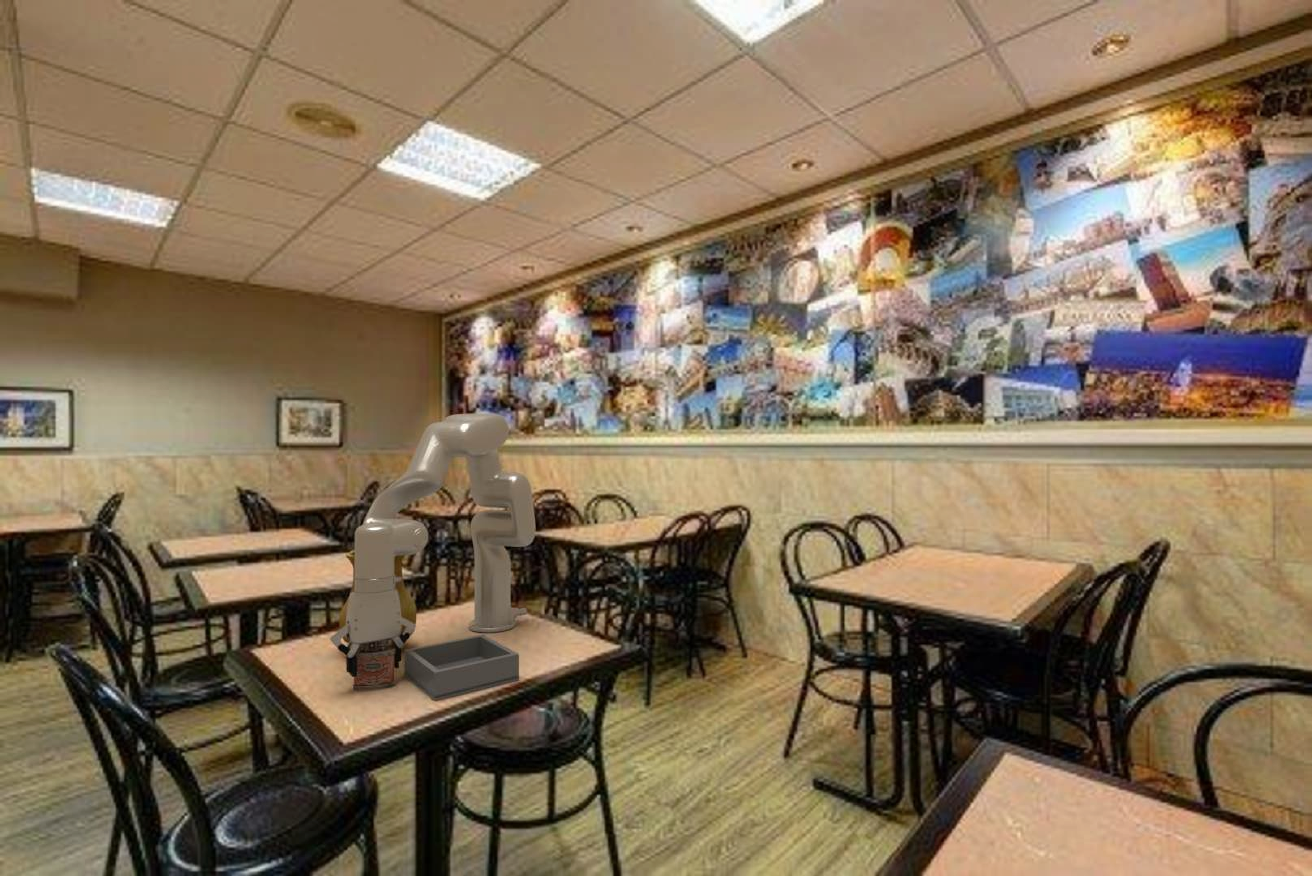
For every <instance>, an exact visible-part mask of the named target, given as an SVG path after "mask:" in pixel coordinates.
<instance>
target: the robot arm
mask: <svg viewBox="0 0 1312 876" xmlns="http://www.w3.org/2000/svg"><path fill="white" fill-rule="evenodd" d="M509 434H510V428H509V423H508V422H507V419H505V418H504V416H503V415H501V414H497V413H457V414H456V413H455V414H452V415H448V416H446V417H444V420H443V421H437V422H433V423H431V424H430V425H428V426H427V427H426V429H425V430H424V432H423V434H422V437H421V438H420V441H419V443H418V445H417V448H416V449H415V452H414V454H413V456H412V458H411V461H410V462H409V465H408V467H407V470H406V471H405V473H404V474H403V475H402V476H401V477H399V478H397V479H396V480H395V481H394V482H393V483H391V484H389V486H388V487H387V488H385V489H383V491H382V492H381V493H380V494H379V495H378V496H376V498H375V500H374V501H373V502H372V504H371V505H370V506H369V510H368V511H367V513H366V516H365V517H364V520H363V523H362V525H360V526H358V527H357V528H356V530H354V531H355V532H354V550H355V592H352V593H351V592H350V593H349V596H348V598H349V601H348V607H347V616H346V625H345V626H344V627H343V628H341V629H340V628H339V630H338V631H336V632H335V633H334V634H333V635H332V636H331V637H330V638H329V641H330V642H331V643H332V644H333V645H334V646H335V647H336V648H337V649H338V650H339V652H341V653H342V654H344V655H345V658H346V660H345V662H346V664H345V666H346V667H345V668H346V673H349V675H350V677H352V678H354V677H356V676H357V657H356V656H355V652H356V651H357V649H358V647H359V645H360V644H364V643H370V642H375V641H381V640H386V639H391V638H392V642H393V645H392V647H391V648H395V654H394V669H399V668H400V663H401V662H402V653H401V648H402V647H403V646H404V644H406V642H407V641H408V640H409V639H410V638H411V636H412V635H413V633H414V632H415V630H416V627H417V626H416V625H415V624H414V623H412V622H410V621H408V620H407V619H405V618H403V617H401V608H400V601H399V595H398V591H397V589H396V588H394V587H395V585H396V583H399V582H401V576H395V575H394V557H395V556H399V555H406V556H411V555H416V554H418V553H420V552H421V551H422V550H423V549H424V548H425V547H426V546H427V543H428V541H429V532H428V529H427V527H426V525H424V524H423V523H422V522H419V521H418V520H414V519H413V520H412V519H399V518H395V517H396V516H397V514H398V513H399V512H401V510H402V509H403V508H405V507H406V506H409V505H410V504H412V503H414V502H416V501H418V500H421V499H423V498H426V497H428V496H431V495H433V494H435V493H436V492H438V491H439V490H440V489H442V487H443V486H444V482H445V479H446V478H447V474H448V472H449V470H450V468H451V465H452V462H453V460H454V459H455V458H465V461H466V465H467V471H468V472H467V473H468V477H469V485H470V486H469V487H470V491H471V492H470V493H471V498H472V500H473V502H474V503H475V505H476V506H478V507H483V508H491V509H486V510H482V511H480V512H478V513H476V514H474V516H473V518H472V519H471V523H470V534H471V539H472V544H473V555H474V619H472V620H470V622H468V629H469V630H470V631H473V632H476V633H477V632H478V633H497V632H498V633H500V632H504V631H507V630H511V629H513V628H515V627H516V626H517V620H516V618H517V617H519V616H526V615H528V614H527V613H528V609H527V608H526V607H521V608H518V607H512V606H511V574H512V573H511V571H512V570H511V567H512V566H511V559H510V555H509V553H508V551H507V549H506V548H505V547H517V548H518V547H520V548H523V547H527V546H529V545H531V544H532V543H533V541H534V539H535V536H536V518H535V507H534V502H533V499H534V498H533V492H532V487H531V483H530V481H529V480H528V478H527V477H526V475H525V474H523V473H520V472H515V471H514V472H513V471H511V472H509V471H507V472H505V471H503V469H502V464H501V460H500V453H499V451H498V448H500V447H502V446H503V445H504V444H505V443H506V442H507V440H508V438H509ZM492 508H493V509H492ZM495 508H497V509H495ZM498 509H499V510H498ZM502 509H503V510H502ZM504 509H505V510H504ZM507 509H508V510H507ZM402 625H404V626H406V629H405V631H404V632H403V633H402V634H401V630H402ZM414 629H415V630H414ZM413 631H414V632H413ZM412 632H413V633H412ZM400 634H401V635H400ZM411 634H412V635H411ZM345 635H346V638H347V639H349V640H350V642H349V643H347V645H345V644H344V643H343V642H342V640H343V637H344V636H345ZM399 635H400V636H399ZM410 635H411V636H410Z"/></svg>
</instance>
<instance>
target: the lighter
mask: <svg viewBox="0 0 1312 876" xmlns="http://www.w3.org/2000/svg"><path fill="white" fill-rule="evenodd" d="M390 644H392V638H391V639H386V640H381V641H375V642H370V643H364V644H360V650H357V651H356V652H355V656H356V657H357V676H356V677H353V684H352V691H354V692H361V691H363V692H364V691H367V692H368V691H376V690H385V689H391V688H394V687H395V686H396V679H395V667H394V654H395V648H385V645H390ZM379 645H382V646H381V648H379ZM365 646H367V648H366V649H365Z"/></svg>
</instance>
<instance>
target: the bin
mask: <svg viewBox="0 0 1312 876" xmlns="http://www.w3.org/2000/svg"><path fill="white" fill-rule="evenodd" d="M403 653H404V655H403V656H404V658H403V660H404V661H403V662H404V667H403V668H404V673H403V675H404V677H406V678H407V679H408V680H409V681H410V682H411V683H413V684H414V685H415V686H416V687H418V688H419V690H421V691H422V692H423V693H424V694H426V695H427V696H428V697H429V698H430V699H431V700H432V701H434V702H436V701H440V700H441V701H442V700H445V699H448V698H449V699H450V698H452V697H457V696H461V695H464V694H468V693H473V692H477V691H481V690H484V689H485V690H486V689H490V688H493V687H496V686H501V685H505V684H508V683H513V682H517V681H519V680H520V654H519V653H518V652H516V651H514V650H512V649H511V648H509V647H507V646H505V645H504V644H502V643H500V642H498V641H495V640H494V639H493V638H490V637H488V636H486V635H485V634H478V635H473V636H469V637H468V636H467V637H464V638H459V639H458V638H457V639H453V640H448V641H442V642H438V643H432V644H427V645H423V646H418V647H412V648H408V649H406V650H404V652H403Z"/></svg>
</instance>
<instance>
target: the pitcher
mask: <svg viewBox="0 0 1312 876" xmlns="http://www.w3.org/2000/svg"><path fill="white" fill-rule="evenodd" d="M406 556H407V555H399V556H395V557H394V575H395V576H401V582H399V583H396V585H395V587H394V588H396V589H397V591H398V595H399V601H400V608H401V617H403V618H405V619H407V620H408V621H410V622H412V623H414V624H415V625H416V624H417V606H416V603H415V600H414V599H413V597H412V596H411V595H410V592H408V589H407V588H406V586H405V584H404V577H403V567H402V564H403V562H404V561H403V560H404V558H405V557H406ZM345 557H346V558H347V559H348V561H349V562H350V564H351V565H352V568H353V571H352V575H353V576H352V586H351V590H350V593H352V592H355V549H353V550H351V551H350V552H346V554H345ZM348 601H349V597H347V600H346V601H345V603H344V605H343V606H342V609H341V611H340V614H339V620H338V621H339V625H338V626H339V630H340V629H341V628H343V627H344V626H345V625H346V616H347V607H348ZM405 629H406V626H404V625H402V630H401V634H402V633H403V632H404V631H405ZM415 631H416V628H415V629H414V631H413V632H412V634H411V635H410V637H411V636H412V635H413V634H414V632H415ZM401 634H400V635H401ZM400 635H399V636H400ZM342 640H343V641H344V643H347V644H348V643H349V642H350V640H349V639H347V638H346V635H345V636H344V637H343V638H342ZM392 645H393V642H392V644H390V645H385V648H391V647H392ZM381 646H382V645H379V648H381ZM408 646H409V645H408V644H407V643H404V646H403V647H402V648H401V654H402V653H404V650H406V649H409V647H408ZM366 648H367V646H365V649H366ZM357 650H360V645H359V647H358V649H357Z"/></svg>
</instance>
